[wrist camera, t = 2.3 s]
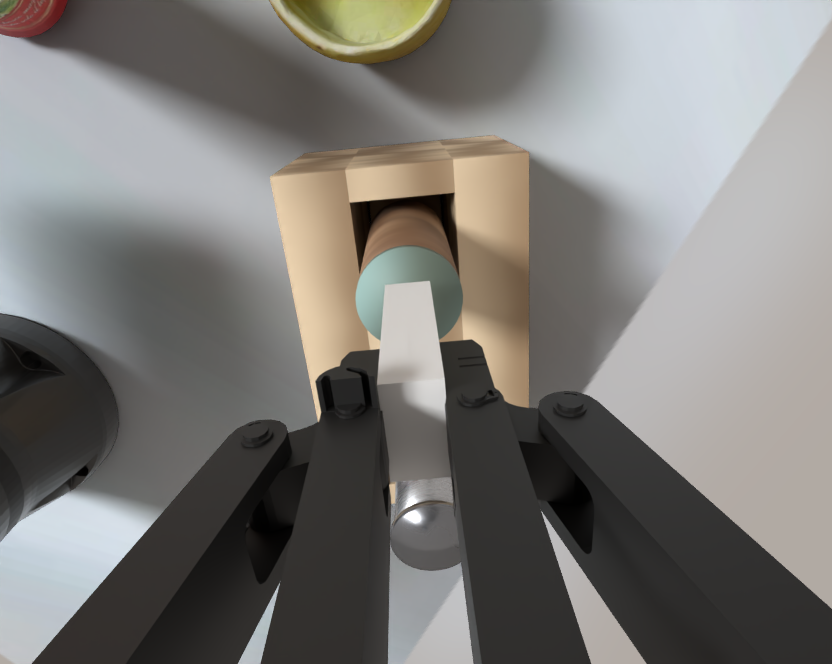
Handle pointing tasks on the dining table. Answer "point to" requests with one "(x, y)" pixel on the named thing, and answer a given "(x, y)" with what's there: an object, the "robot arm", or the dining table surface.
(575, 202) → the dining table surface
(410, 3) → the mug
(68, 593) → the dining table surface
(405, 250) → the walnut peg
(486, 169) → the oak block
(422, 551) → the metal pin
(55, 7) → the liquor
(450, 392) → the robot arm
